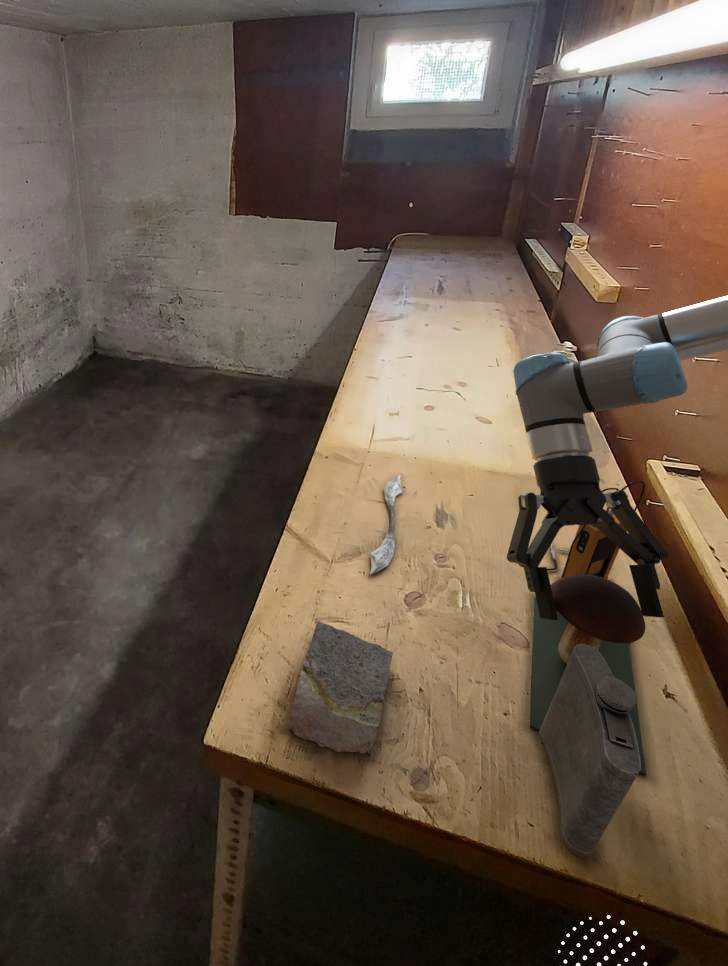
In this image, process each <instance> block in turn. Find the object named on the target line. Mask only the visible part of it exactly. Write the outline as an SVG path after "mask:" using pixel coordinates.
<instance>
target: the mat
mask: <svg viewBox="0 0 728 966" xmlns="http://www.w3.org/2000/svg"><path fill="white" fill-rule="evenodd" d="M533 607H534V608H533V609H534V610H533V632H532V633H533V634H532V655H531V656H532V658H531V683H530V684H531V685H530V707H529V709H530V710H529V711H530V712H529V728H532V729H533V730H535V731H540V729H541V726H542V724H543V721H544V719H545V717H546V714H547V712H548V709H549V707H550V705H551V702H552V700H553V697H554V695H555V693H556V690H557V688H558V685H559V683H560V681H561V678H562V676H563V673H564V671H565V669H566V666H567V664H566V663H565V662H564V661H563V660H562V659H561V657H560V655H559V643H560V640H561V638H562V636H563V633H564V631H565V629H566V627H567V625H568V624H569V622H568V621H567V620H566V619H565V618H564V617H563V616H562V615H561V614H560V613H559V612H558V611H557V610H556V613H557V617H558V620H550V619H542V618H540V614H539V609H538V605H537V600H536V596H534V606H533ZM598 652H599V653H600V654H601V655H602V656H603V658H604V660H605V661H606V663H607V665H608V666H609V668H610V670H611V672H612V674H613V676H614V677H615V678H617V679H619V680H622V681H623V682H625V683H626V684H627V685H629V686H630V687H631V688H632V690H633V691H634V692H635V693H636V688H635V681H634V674H633V666H632V659H631V651H630V643H613V642H608V641H604V640H601V643H600V646H599V650H598ZM637 703H638V701H637V702H636V704H635V705H634V707H633V709H631V710H630V711H629V710H628V711H629V714H630V717H631V720H632V723H633V727H634V730H635V734H636V738H637V743H638V748H639V754H640V761H641V769H640V772H639V773H638V774H641V775H643V776H646V775H647V769H646V761H645V756H644V755H645V754H644V747H643V740H642V732H641V725H640V718H639V711H638V704H637Z"/></svg>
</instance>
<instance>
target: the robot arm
mask: <svg viewBox="0 0 728 966" xmlns="http://www.w3.org/2000/svg"><path fill="white" fill-rule="evenodd" d="M596 346H597V348H596V350H597V356H596V357H593V358H589V359H585V360H580V361H576V362H574V361H573V362H571V361H570V360H569V357H568V356H567V355H566V354H564V353H562V352H546V353H538V354H534V355H530V356H527V357H525V358H523V359H520V360H519V361H518V362H517V363H516V364H515V365H514V367H513V371H512V372H513V379H514V384H515V391H514V393H515V395H516V397H517V402H518V404H519V409H520V412H521V415H522V416H521V417H522V420H523V424H524V430H525V435H526V438H527V443H528V448H529V452H530V457H531V459H532V460H533V461H536V462H534V464H533V465H532V467H533V472H534V476H535V479H536V485H537V487H538V488H539V490H540V492H539V494H536V493H534V492H527V493H523V494H520V495H519V496H518V498H517V499H518V500H517V501H518V515H517V518H516V521H515V525H514V528H513V532H512V536H511V540H510V543H509V547H508V550H507V554H506V560H507V562H509V563H514V564H517V565H518V566H520V567H521V568H523V570H524V576H525V580H526V585H527V589H528V590H529V592H530V593H534V595H535V597H536V600H537V605H538V609H539V614H540V618H542V619H550V620H558V617H557V613H556V608H555V604H554V599H553V595H552V590H551V586H550V585H551V581H550V578H549V573H548V571H547V569H548V567H547V566H540V564H541V562H542V561H543V559H544V558H545V555H546V554H547V552H548V551H549V549H550V548H551V544H552V545H553V542H554V540H555V538H556V537H557V535H558V534H559V532H560V530H561V529H562V528H563V527H564V526H565V527H567V526H568V527H569V526H576V525H577V526H579V525H592V526H593V527H595V528H597V529H599V530H600V531H601V532H602V533H603V534H604V535H605V536H606V537H608V538H609V539H610V540H611V541H612V542H613V543H614V544H615V545H616V546H618V547H619V548H620V549H619V550H621V551H622V552H623V553H624V554H625V555H626V556H627V557H628V558H630V560H632V561H633V562H634V563H635V564H629V565H628V566H629V570H630V573H631V577H632V581H633V585H634V588H635V592H636V596H637V600H638V605H639V607H640V609H641V611H642V614H643V617H651V618H665V616H664V612H663V609H662V605H661V601H660V598H659V593H658V591H657V590H661V583H660V580H659V576H658V573H657V567H656V565H657V564H659V563H661V560H662V559H667V558H668V557H669V553H668V551H667V550H666V548H665V547H664V546H663V545H662V543H661V542H660V541H659V540H658V539H657V537H656V536H655V534H654V533H653V532H652V531H651V530H650V528H649V527H648V526H647V525H646V523H645V522H644V520H642V518H641V517H640V515H639V514H638V513H637V511H636V512H635V510H634V509H635V508H633V507H632V505H631V503H630V500H629V497H628V496H627V492H626V491H625V490H621V489H619V490H618V491H616V490H614V491H609V492H606V493H604V492H602V490H601V488H600V481H601V478H600V474H599V471H598V466H597V462H596V459H595V458H593V457H592V456H590V455H591V454H592V453H593V452H594V450H593V447H592V443H591V439H590V436H589V433H588V429H587V424H586V422H585V418H584V415H585V414H590V413H596V412H600V411H606V410H607V411H608V410H612V409H618V408H619V409H620V408H624V407H630V406H636V405H641V404H643V405H644V404H650V403H651V404H653V403H658V402H660V401H663V400H667V399H672V398H676V397H680V396H682V395H684V394H685V393H686V392H687V390H688V382H687V379H686V375H685V372H684V370H683V366H682V363H681V361H685V360H689V359H690V360H691V359H695V358H698V357H703V356H707V355H713V354H717V353H722V352H726V351H728V295H724V296H721V297H717V298H713V299H709V300H705V301H703V302H698V303H696V304H691V305H689V306H688V305H687V306H685V307H681V308H677V309H674V310H670V311H667V312H663V313H658V314H654V315H650V316H646V317H642V316H637V315H624V316H620V317H617V318H614V319H613V320H611V321H610V322H608V323H607V324H606V325H605V326H604V327H603V328H602V331H601V333H600V335H599V336H598V339H597V343H596ZM541 506H542V508H543V509H545V511H546V514H545V516H544V517H543V519H542V521H541V526H540V527H539V529H538V531H537V532H536V534H535V536H534V537H533V539H532V540H531V538H532V534H533V530H534V526H535V523H536V519H537V515H538V510H539V509H540V508H541ZM605 506H606V508H607V507H609V508H610V510H611V511H612V512H613V514H614V515H615V516H616V518H617V519H618V520H619V522H620V523H621V524H622V525H623V527H624V528H625V529H626V531H627V532H626V531H625V530H624V529H623V528H622V527H621V526H619V525H618V524H617V523H616V522H615V519H614V518H613V517H612V516H611V515H610V514H609V513H608V512H607V511H606V509H604V507H605ZM530 542H531V543H530Z"/></svg>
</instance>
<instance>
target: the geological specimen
mask: <svg viewBox="0 0 728 966" xmlns="http://www.w3.org/2000/svg"><path fill="white" fill-rule="evenodd" d="M393 654H394V651H391V650H388V649H386V648H385V647H383V646H381V645H380V644H378V643H373V642H369V641H367V640H364V639H362V638H360V637H358V636H357V635H355V634H351V633H350V632H348V631H346V630H345V629H339V628H336V627H334V626H333V625H330V624H328V623H324V622H322V621H320V620H316V624H315V627H314V629H313V634H312V637H311V639H310V643H309V646H308V649H307V652H306V656H305V660H304V662H303V665H302V669H301V671H300V674H299V679H298V681H297V685H296V691H295V694H294V698H293V701H292V707H291V711H290V717H289V722H288V730H290V731H292V732H293V734H294V735H295V736H297V737H299V738H301V739H303V740H304V741H310V742H313V743H316V744H317V746H318V747H319V748H325V747H326V748H329V749H331V751H334V752H337V753H343V752H346V753H360V754H362V755H364V754H366V753H368V754H369V755H370V756H372V754H373V751H374V745H375V741H376V739H377V735H378V729H379V725H380V721H381V715H382V710H383V705H384V700H385V695H386V689H387V684H388V679H389V675H390V670H391V665H392V661H393V656H394V655H393Z"/></svg>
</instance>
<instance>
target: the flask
mask: <svg viewBox="0 0 728 966" xmlns="http://www.w3.org/2000/svg"><path fill="white" fill-rule="evenodd" d="M636 702H637V703H638V697H637V694H636V691H635V692H634V691H633V690H632V688H631V687H630V686H629V685H627V684H626V683H625V682H623V681H622V680H619V679H617V678H615V677H614V676H613V674H612V672H611V670H610V668H609V666H608V665H607V663H606V661H605V660H604V658H603V656H602V655H601V654H600V653H599V652H598V651H597V650H596V649H594V648H593V647H591V646H588V645H585V644H579V645H576V646H575V647H574V649H573V652H572V654H571V657H570V659H569V661H568V664H567V666H566V669H565V671H564V673H563V676H562V678H561V681H560V683H559V685H558V688H557V690H556V693H555V695H554V697H553V700H552V702H551V705H550V707H549V709H548V712H547V714H546V717H545V719H544V721H543V724H542V726H541V729H540V731H539V737H540V740H541V742H542V744H543V746H544V749H545V752H546V755H547V757H548V761H549V764H550V767H551V771H552V775H553V779H554V782H555V788H556V792H557V798H558V805H559V806H558V807H559V814H560V837H561V840H562V842H563V844H564V845H565V847H566V848H567V850H569V851H570V852H571V853H572V854H574V855H576V856H577V857H580V858H588V857H590V856H591V855H592V854H593V852H594V850H595V848H596V846H597V845H598V843H599V841H600V840H601V838H602V837H603V835H604V833H605V831H606V829H607V828H608V826H609V825H610V823H611V821H612V819H613V818H614V816H615V814H616V813H617V811H618V809H619V808H620V806H621V804H622V802H623V801H624V799H625V798H626V795H627V794H628V792H629V790H630V789H631V787H632V785H633V783H634V782H635V780H636V779H637V776H638V775H639V774H640V773H639V772H640V769H641V761H640V754H639V748H638V743H637V738H636V734H635V730H634V727H633V723H632V720H631V717H630V714H629V711H630V710H631V709H633V707H634V705H635V704H636ZM628 710H629V711H628Z"/></svg>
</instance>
